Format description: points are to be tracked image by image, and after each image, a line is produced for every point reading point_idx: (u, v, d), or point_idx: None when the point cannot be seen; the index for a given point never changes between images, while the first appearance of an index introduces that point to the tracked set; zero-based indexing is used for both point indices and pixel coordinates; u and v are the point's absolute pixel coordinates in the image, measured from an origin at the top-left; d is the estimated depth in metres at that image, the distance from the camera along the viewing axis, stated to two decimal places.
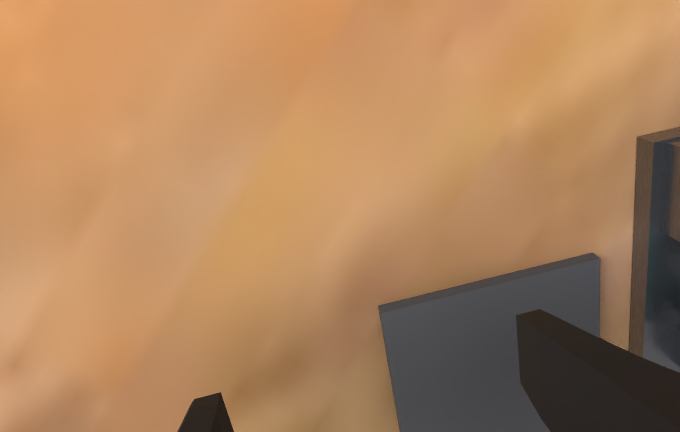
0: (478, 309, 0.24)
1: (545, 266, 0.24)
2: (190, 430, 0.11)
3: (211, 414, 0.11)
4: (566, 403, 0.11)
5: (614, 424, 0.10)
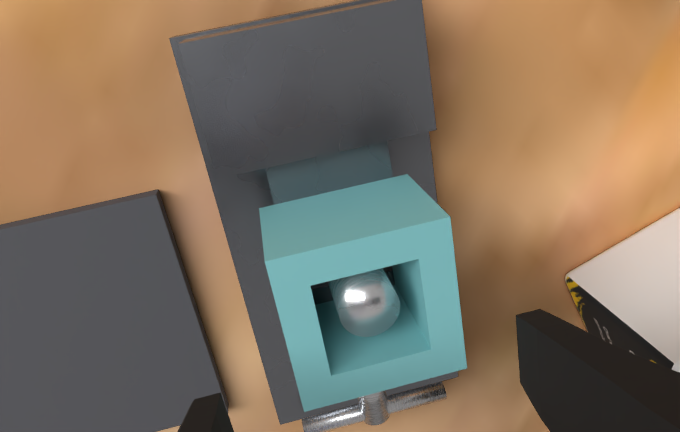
0: (1, 258, 0.19)
1: (91, 205, 0.20)
2: (190, 430, 0.11)
3: (211, 414, 0.11)
4: (566, 403, 0.11)
5: (614, 424, 0.10)
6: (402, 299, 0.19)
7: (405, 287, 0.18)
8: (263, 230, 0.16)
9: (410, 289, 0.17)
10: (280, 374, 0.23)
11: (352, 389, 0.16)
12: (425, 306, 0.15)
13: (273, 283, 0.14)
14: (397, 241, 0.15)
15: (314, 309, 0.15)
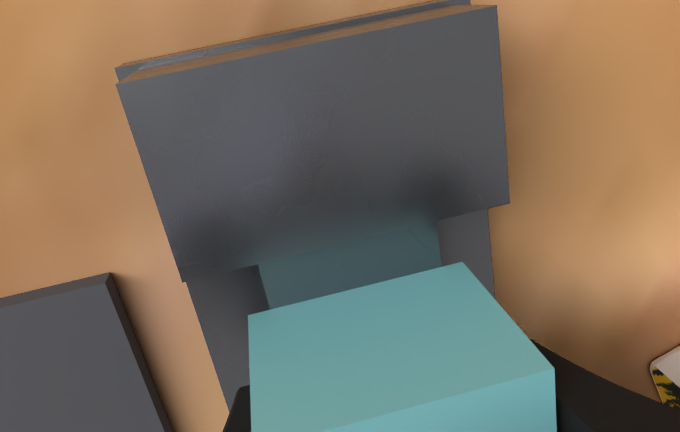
0: None
1: (16, 297, 0.14)
2: (241, 416, 0.11)
3: None
4: None
5: None
6: None
7: None
8: (252, 368, 0.10)
9: None
10: None
11: None
12: None
13: None
14: (468, 408, 0.09)
15: None
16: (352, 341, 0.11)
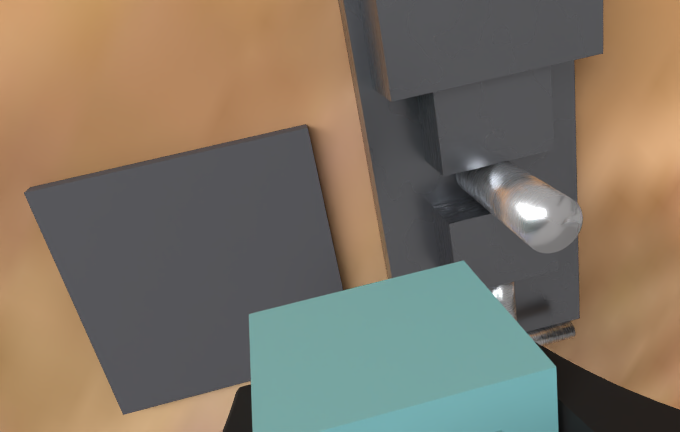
0: (157, 191, 0.20)
1: (243, 139, 0.20)
2: (241, 416, 0.11)
3: None
4: None
5: None
6: None
7: None
8: (253, 366, 0.10)
9: None
10: None
11: None
12: None
13: None
14: (469, 406, 0.09)
15: None
16: (353, 340, 0.11)
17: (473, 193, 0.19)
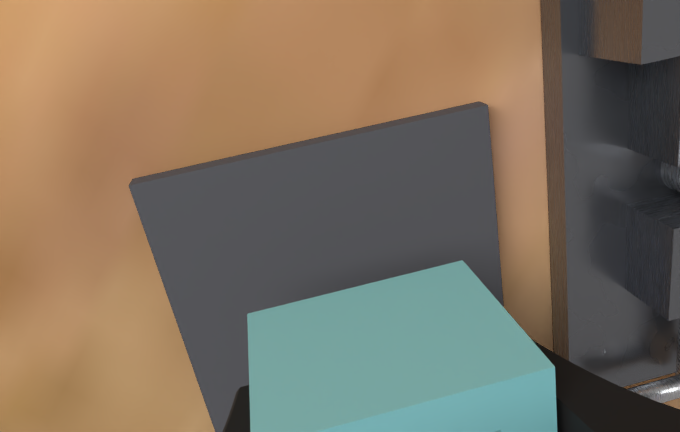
0: (295, 185, 0.15)
1: (403, 120, 0.16)
2: (241, 416, 0.11)
3: None
4: None
5: None
6: None
7: None
8: (251, 366, 0.10)
9: None
10: (583, 338, 0.18)
11: None
12: None
13: None
14: (468, 407, 0.09)
15: None
16: (352, 339, 0.11)
17: None
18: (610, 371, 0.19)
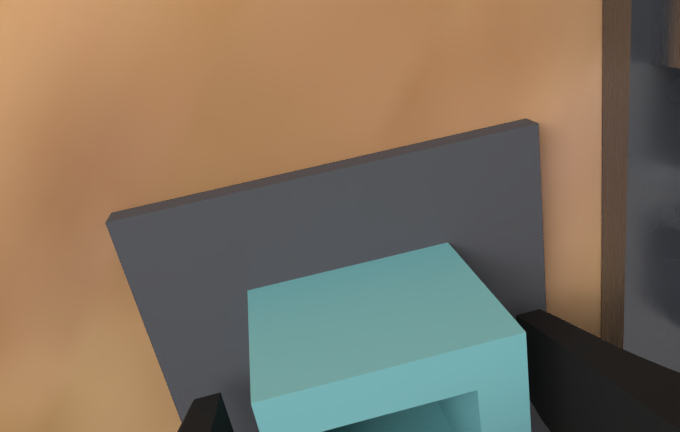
0: (307, 220, 0.13)
1: (436, 141, 0.13)
2: (190, 430, 0.11)
3: (211, 414, 0.11)
4: (566, 403, 0.11)
5: (614, 424, 0.10)
6: (438, 406, 0.14)
7: (445, 398, 0.13)
8: (251, 335, 0.11)
9: (455, 408, 0.12)
10: None
11: None
12: None
13: None
14: (447, 368, 0.10)
15: None
16: (343, 311, 0.11)
17: None
18: None
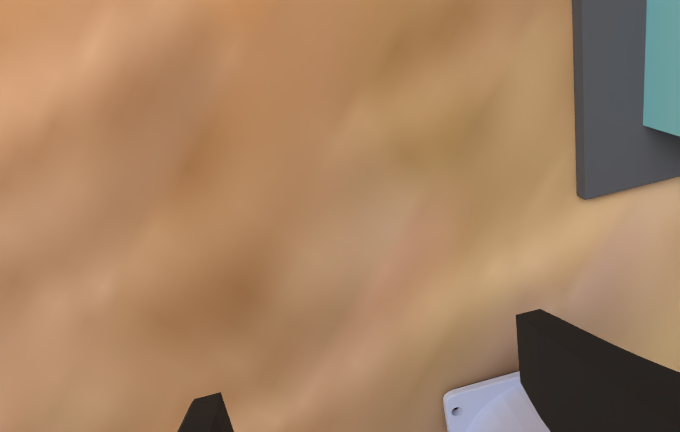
0: None
1: None
2: (190, 430, 0.11)
3: (211, 414, 0.11)
4: (566, 403, 0.11)
5: (614, 424, 0.10)
6: None
7: None
8: None
9: None
10: None
11: None
12: None
13: None
14: None
15: None
16: None
17: None
18: None
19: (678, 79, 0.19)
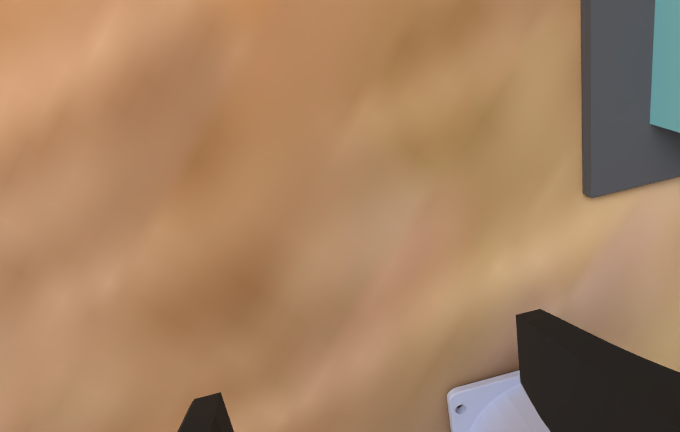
0: None
1: None
2: (190, 430, 0.11)
3: (211, 414, 0.11)
4: (566, 403, 0.11)
5: (614, 424, 0.10)
6: None
7: None
8: None
9: None
10: None
11: None
12: None
13: None
14: None
15: None
16: None
17: None
18: None
19: None
